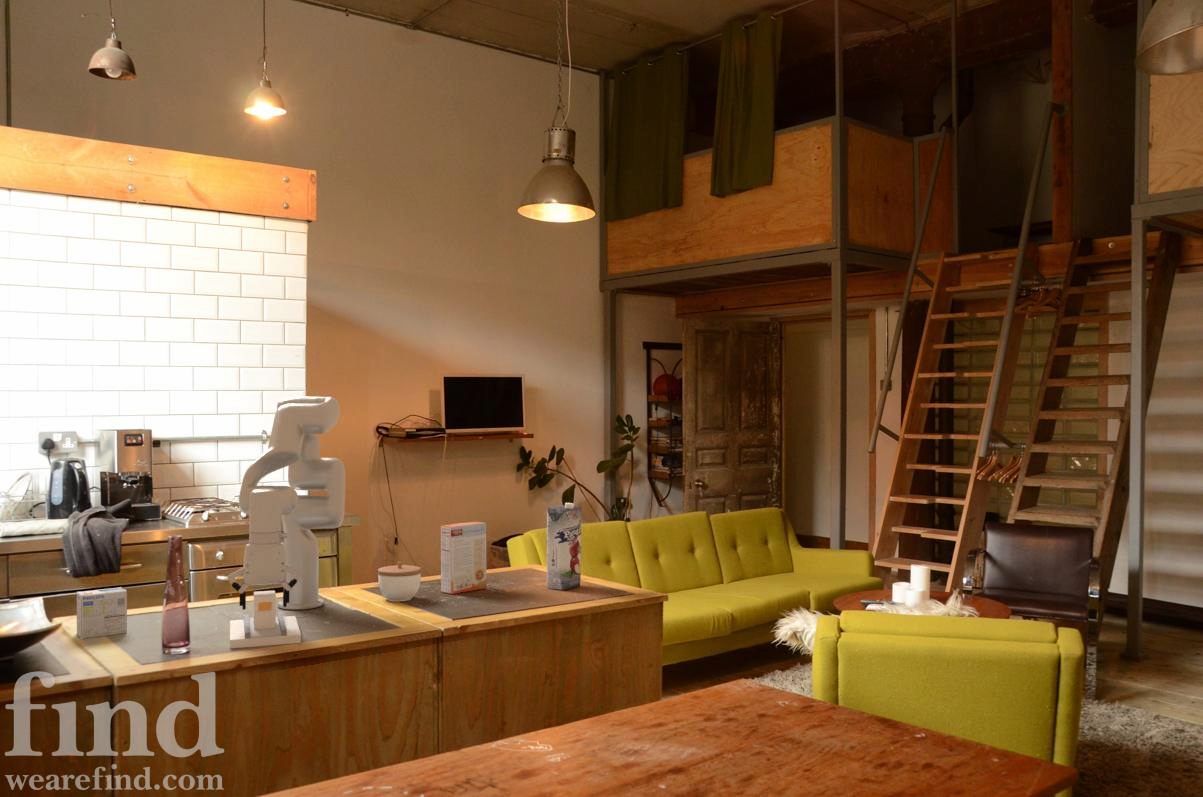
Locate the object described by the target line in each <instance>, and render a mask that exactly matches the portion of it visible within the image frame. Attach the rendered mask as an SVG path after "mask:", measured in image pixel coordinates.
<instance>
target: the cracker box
mask: <svg viewBox="0 0 1203 797" xmlns="http://www.w3.org/2000/svg"><path fill="white" fill-rule="evenodd" d="M484 589H487V522H481V521H469V522H459V523H458V522H457V523H450V524H443V525H440V592H441V593H444V594H450V595H455V594H460V593H461V592H462V593H466V592H472V591H478V590H484ZM462 593H461V594H462Z"/></svg>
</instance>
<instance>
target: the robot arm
mask: <svg viewBox="0 0 1203 797" xmlns="http://www.w3.org/2000/svg"><path fill="white" fill-rule="evenodd" d="M340 407H341V406H340V404H339V401H338V400H337V399H336V398H335V397H332V396H307V395H305V396H302V395H301V396H286V397H283V398H281V399H280V400H278V402H277V404H276V411H275V414H274V418H273V424H272V428H271V432H270V438H269V441H268V447H267V450H266V451H265V452H264V453H262V454H261V455H259V456H258V457H257V458H256V459H255V460H254V461H253V462H252V463H251V464H250V465H249V466H248V468H247V469H246V470H245V472H244V475H243V478H242V482H241V487H240V491H239V496H238V505H239V509H240V511H241V512H242V513H243V514H245V515H249V516H248V518H249V522H248V528H249V529H248V532H249V533H248V535H249V536H248V542H249V543H247V544H245V548H244V554H243V564H242V567H241V568H239V569H238V570H236V571H234V572H231V573H230V574H228V575H227V580H228V582H229V584H230V585H231V587H232V588H233V589H235V591H237V593H239V607H242V610H243V611H244V610H246V609H247V608H246V606H247V603H246V601H247V600H246V599H247V596H246V595H247V594H246V591H247V589H248V588H249V586H265V585H266V586H267V585H278V584H279V585H281V586H282V587H283V590H282V600H280V601H278V602H277V607H278V608H279V609H282V610H295V611H296V610H308V609H309V610H310V609H316V608H319V607H322V606H324V604H325V600H324V599H322V598H320V597H319V569H320V568H319V566H320V565H319V564H320V563H319V562H320V561H319V560H320V559H319V556H320V555H319V553H320V552H319V549H320V548H319V547H320V546H319V541H318V539H317V537H316V536H315V534H314V533H313V531H312V529H313V530H314V529H315V530H316V529H317V530H318V529H337V528H339V527H341V526H342V524H344V523H343V522H344V520H345V519H344V518H345V506H346V504H345V503H346V468H345V464H344V462H343V461H342V460H341V459H339V458H337V457H321V456H320V448H321V447H320V445H321V442H320V438H319V436H318V435H324V434H326V433H328V432H330V431H331V429H333V428H334V427H336V425H337V423H338V421H339V419H340V414H341V408H340ZM284 468H288V470H287V480H288V484H289V485H287V486H286V485H258V484H259V483H260V481H261V480H263V478H265V477H266V476H267V475H269V474H271V473H274V472H276V471H279V470H281V469H284ZM297 491H325V492H327V494H326V495H322V494H321V495H315V494H303V495H302V494H298V492H297ZM282 530H283V532H282ZM282 540H283V542H282ZM241 575H242V580H243V583H242V584H239V583H238V582H237V581H236V578H238V577H239V576H241Z"/></svg>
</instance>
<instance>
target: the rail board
mask: <svg viewBox="0 0 1203 797" xmlns="http://www.w3.org/2000/svg"><path fill="white" fill-rule="evenodd" d="M301 643H302V634H301V631H300V627H299V624H298V620H297V618H296V616H295V615H292V616H291V615H289V616H284V614H283V611H277V612H276V628H268V629H255V630H254V616H253V617H250V615H249V613H244V614H243V619H234V620H233V619H232V620H230V621H229V649H239V648H242V649H243V648H252V647H253V648H255V647H266V646H278V645H288V644H290V645H291V644H301Z"/></svg>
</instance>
